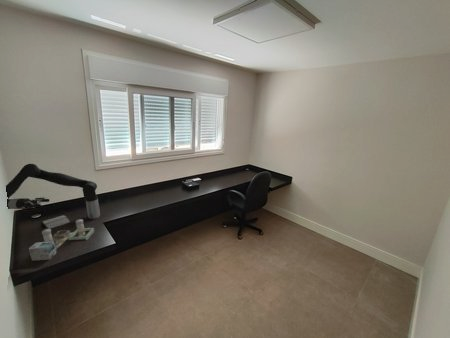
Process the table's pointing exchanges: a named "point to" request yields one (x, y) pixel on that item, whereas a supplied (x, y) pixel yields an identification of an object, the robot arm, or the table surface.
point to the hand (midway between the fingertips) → (45, 202)
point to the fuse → (47, 235)
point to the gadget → (56, 221)
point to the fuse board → (61, 237)
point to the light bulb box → (42, 250)
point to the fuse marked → (80, 227)
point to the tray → (91, 231)
